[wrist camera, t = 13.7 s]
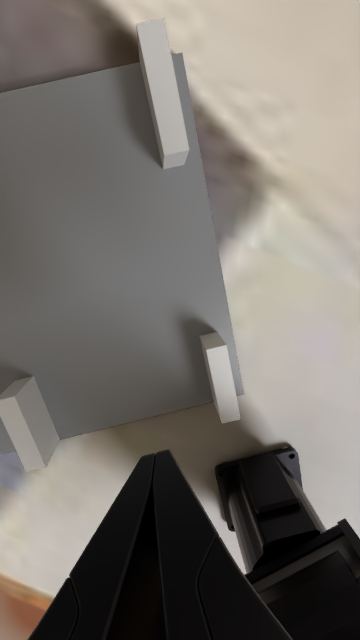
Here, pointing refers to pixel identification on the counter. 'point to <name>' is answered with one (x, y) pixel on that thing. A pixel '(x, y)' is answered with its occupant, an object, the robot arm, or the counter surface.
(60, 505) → the counter surface
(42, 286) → the board
